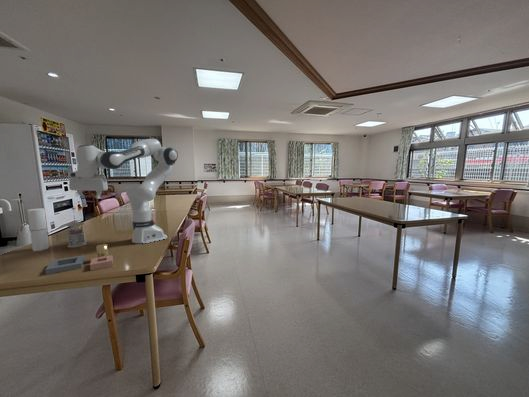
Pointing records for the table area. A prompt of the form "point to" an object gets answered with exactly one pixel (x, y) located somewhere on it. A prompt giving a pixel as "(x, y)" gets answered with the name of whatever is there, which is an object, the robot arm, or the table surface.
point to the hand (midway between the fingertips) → (90, 198)
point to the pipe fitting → (102, 250)
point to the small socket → (101, 262)
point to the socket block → (75, 264)
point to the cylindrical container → (38, 229)
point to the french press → (75, 235)
